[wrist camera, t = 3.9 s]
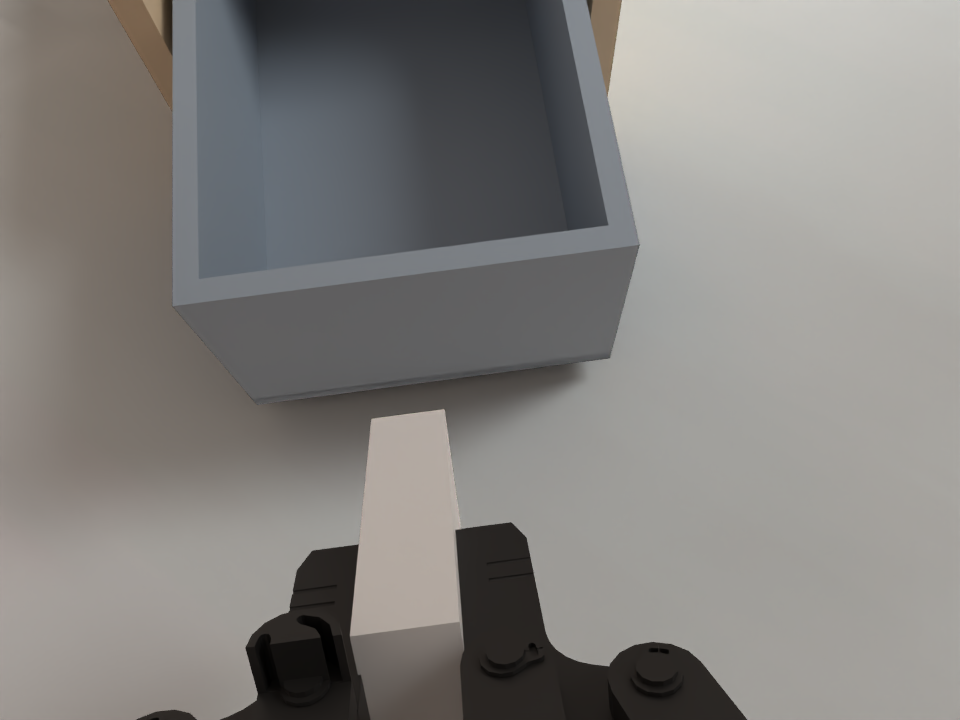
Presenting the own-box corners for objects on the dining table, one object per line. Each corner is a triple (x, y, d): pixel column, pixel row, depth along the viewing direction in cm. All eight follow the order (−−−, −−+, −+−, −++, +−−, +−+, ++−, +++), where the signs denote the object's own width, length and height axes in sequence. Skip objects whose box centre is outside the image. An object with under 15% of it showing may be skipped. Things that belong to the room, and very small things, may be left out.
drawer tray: (508, -164, 35) (506, -365, 28) (609, 358, 27) (639, 244, 20) (237, -130, 35) (172, -324, 28) (257, 404, 27) (172, 306, 20)
